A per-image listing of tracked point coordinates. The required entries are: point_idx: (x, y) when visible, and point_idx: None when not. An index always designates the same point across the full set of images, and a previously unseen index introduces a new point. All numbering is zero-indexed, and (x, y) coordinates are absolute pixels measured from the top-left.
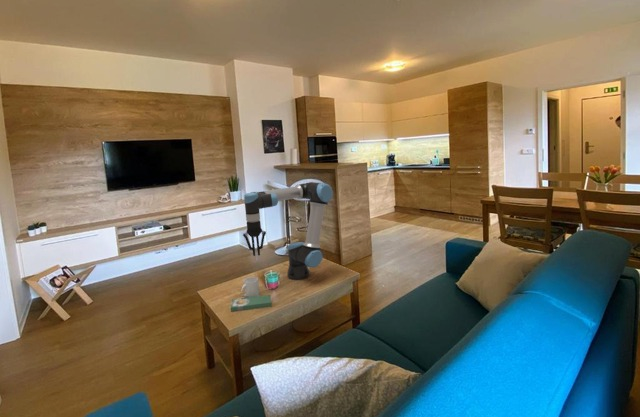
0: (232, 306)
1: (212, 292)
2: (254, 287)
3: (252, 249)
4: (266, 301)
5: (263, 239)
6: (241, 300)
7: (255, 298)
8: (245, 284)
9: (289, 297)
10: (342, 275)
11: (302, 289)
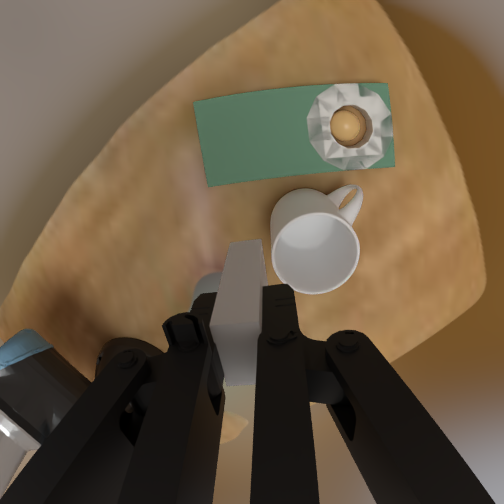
0: (382, 92)
1: (459, 281)
2: (291, 207)
3: (305, 349)
4: (218, 113)
5: (22, 481)
6: (348, 125)
7: (281, 155)
8: (344, 216)
9: (129, 185)
10: (14, 330)
11: (93, 254)
